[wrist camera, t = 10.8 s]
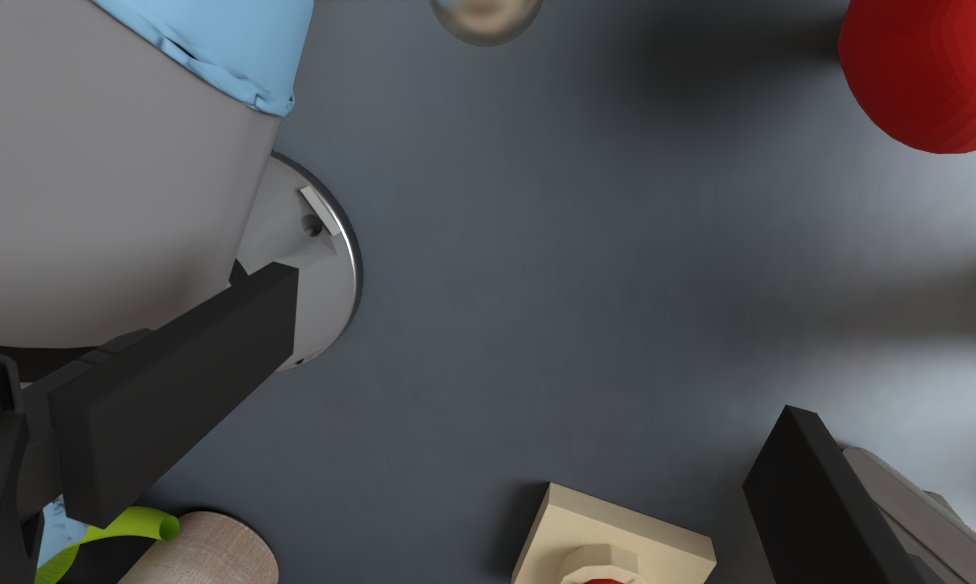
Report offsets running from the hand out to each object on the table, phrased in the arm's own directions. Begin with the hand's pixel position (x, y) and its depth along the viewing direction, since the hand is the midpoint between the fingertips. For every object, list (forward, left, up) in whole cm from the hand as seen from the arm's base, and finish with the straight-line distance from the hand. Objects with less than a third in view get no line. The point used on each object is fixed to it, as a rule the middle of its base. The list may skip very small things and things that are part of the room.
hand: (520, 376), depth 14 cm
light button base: (+11, -24, -19) cm, 33 cm away
